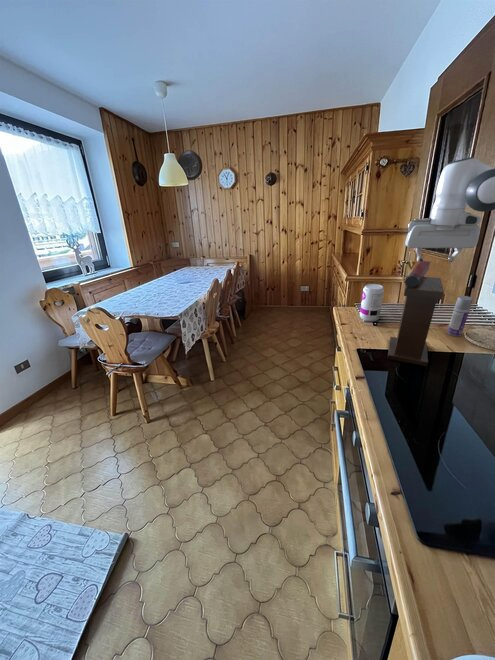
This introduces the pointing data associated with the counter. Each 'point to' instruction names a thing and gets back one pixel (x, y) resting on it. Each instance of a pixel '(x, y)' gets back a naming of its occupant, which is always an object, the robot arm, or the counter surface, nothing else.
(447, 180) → the robot arm
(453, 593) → the counter surface
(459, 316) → the container
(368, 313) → the supplement can
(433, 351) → the counter surface
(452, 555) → the counter surface
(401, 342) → the shelf stand
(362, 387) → the counter surface
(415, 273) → the maroon rod
